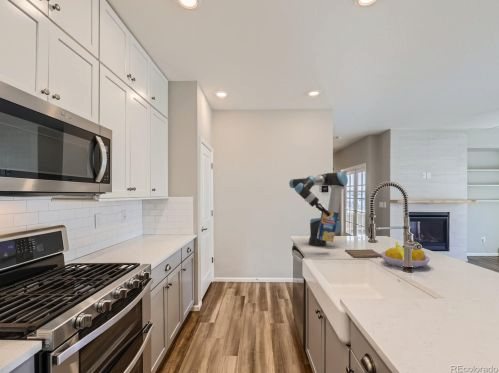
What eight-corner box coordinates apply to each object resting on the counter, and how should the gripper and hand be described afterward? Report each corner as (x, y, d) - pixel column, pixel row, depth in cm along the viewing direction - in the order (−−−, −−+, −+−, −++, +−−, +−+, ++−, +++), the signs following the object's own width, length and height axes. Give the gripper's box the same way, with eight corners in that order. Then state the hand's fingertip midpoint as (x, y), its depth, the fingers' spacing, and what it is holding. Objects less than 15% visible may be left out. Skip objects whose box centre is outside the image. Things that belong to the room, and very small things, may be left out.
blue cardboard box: (333, 242, 193) (338, 212, 192) (318, 239, 194) (323, 210, 194) (331, 240, 199) (336, 212, 199) (316, 237, 200) (322, 209, 200)
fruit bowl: (432, 273, 146) (431, 253, 146) (378, 267, 160) (377, 248, 160) (429, 261, 169) (428, 244, 170) (382, 256, 184) (382, 240, 184)
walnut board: (345, 251, 202) (345, 249, 202) (371, 251, 201) (371, 249, 201) (353, 257, 182) (353, 256, 182) (383, 257, 181) (383, 256, 181)
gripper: (306, 202, 205) (328, 223, 204) (310, 203, 190) (334, 226, 188) (313, 195, 205) (335, 216, 204) (317, 196, 189) (341, 219, 188)
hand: (334, 221), depth 196 cm, fingers closed on blue cardboard box, 2 cm apart
